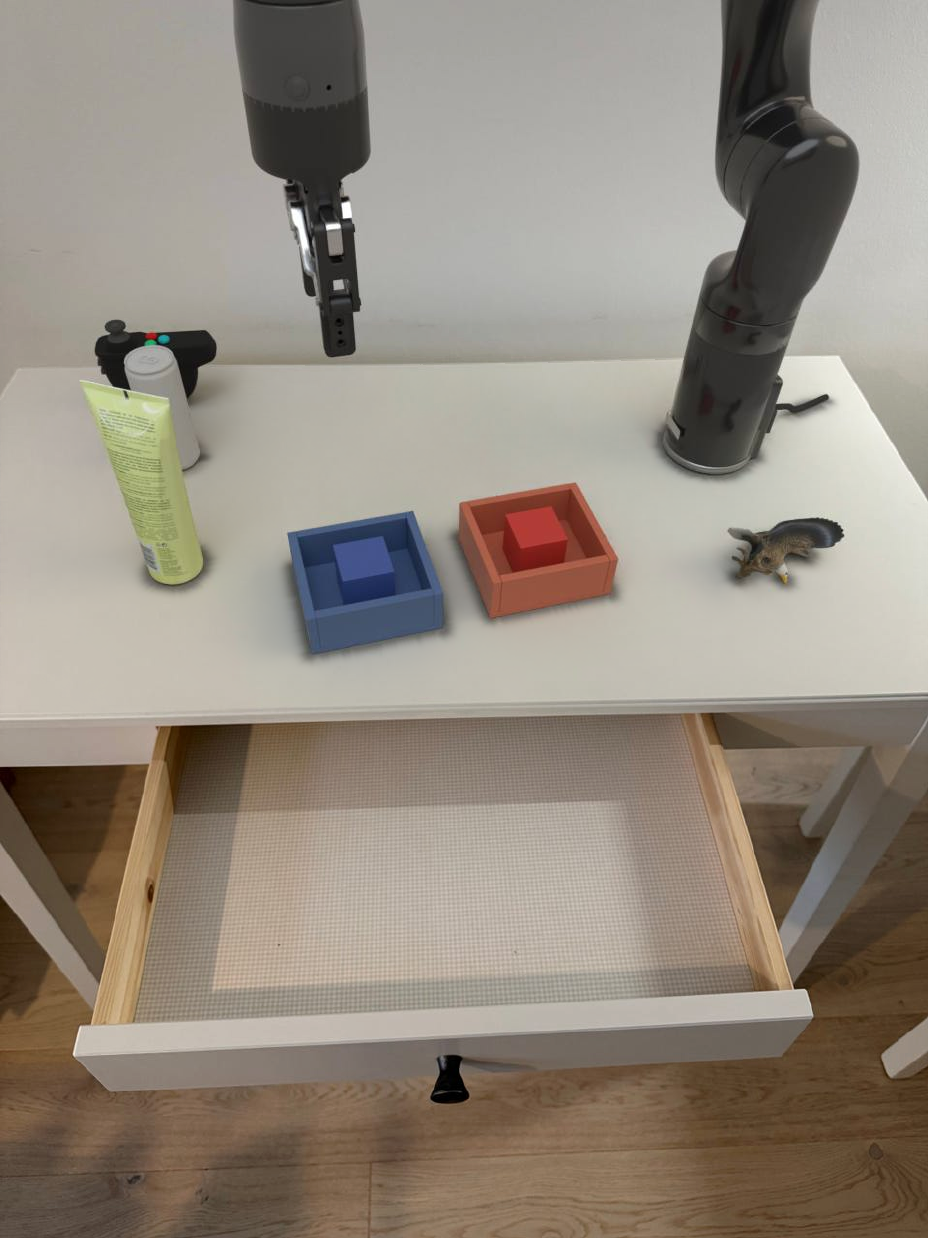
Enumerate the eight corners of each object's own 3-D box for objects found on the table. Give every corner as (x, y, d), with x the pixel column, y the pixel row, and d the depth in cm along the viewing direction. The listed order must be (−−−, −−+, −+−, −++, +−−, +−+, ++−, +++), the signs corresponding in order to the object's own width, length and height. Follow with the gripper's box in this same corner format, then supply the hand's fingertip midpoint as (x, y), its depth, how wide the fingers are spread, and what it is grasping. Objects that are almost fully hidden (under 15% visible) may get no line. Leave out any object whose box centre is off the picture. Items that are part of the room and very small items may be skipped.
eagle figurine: (784, 610, 78) (855, 558, 80) (761, 542, 75) (836, 490, 77) (727, 593, 85) (794, 545, 87) (704, 529, 82) (774, 482, 84)
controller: (115, 396, 98) (88, 314, 91) (227, 387, 100) (210, 306, 92) (112, 419, 95) (84, 337, 88) (227, 409, 97) (209, 328, 89)
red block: (546, 540, 84) (551, 505, 80) (562, 573, 81) (568, 538, 78) (502, 549, 83) (504, 514, 80) (516, 582, 80) (520, 547, 77)
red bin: (570, 517, 87) (576, 481, 84) (610, 593, 80) (618, 558, 77) (458, 537, 85) (459, 502, 81) (490, 618, 78) (492, 583, 75)
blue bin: (414, 545, 84) (413, 510, 80) (442, 628, 77) (443, 593, 74) (293, 568, 82) (286, 532, 78) (312, 654, 75) (306, 619, 72)
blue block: (385, 570, 81) (382, 535, 77) (396, 606, 78) (394, 571, 75) (337, 580, 80) (332, 544, 77) (346, 616, 77) (342, 581, 74)
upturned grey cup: (190, 477, 90) (162, 376, 80) (146, 470, 90) (113, 369, 81) (208, 447, 93) (183, 347, 84) (165, 441, 93) (136, 341, 84)
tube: (203, 540, 84) (152, 362, 69) (217, 575, 81) (168, 397, 66) (143, 557, 82) (78, 379, 67) (156, 594, 79) (91, 415, 64)
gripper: (391, 117, 49) (400, 368, 61) (343, 35, 58) (359, 269, 70) (256, 128, 47) (293, 384, 60) (228, 42, 56) (265, 280, 69)
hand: (329, 322), depth 65 cm, fingers open, 8 cm apart
